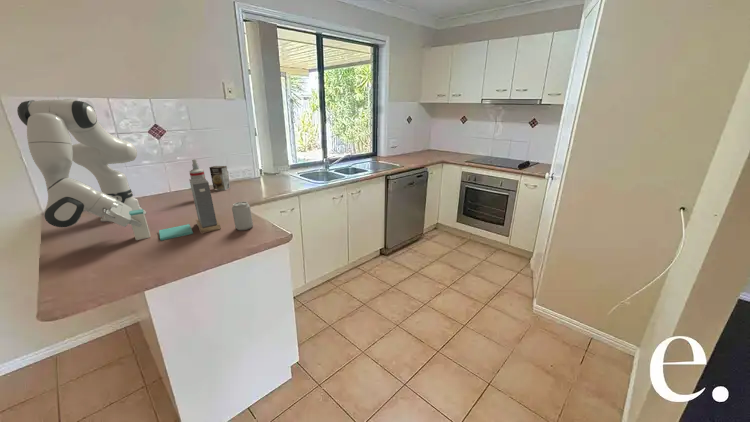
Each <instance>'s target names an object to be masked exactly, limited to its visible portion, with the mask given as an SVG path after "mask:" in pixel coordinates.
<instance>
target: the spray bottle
mask: <svg viewBox="0 0 750 422" xmlns="http://www.w3.org/2000/svg"><path fill="white" fill-rule="evenodd" d="M191 161H192V169H190V170H189V171H188V172H189V176H190V179H196V178H205V179H206V175H205V170H204V169H203V168H200V167H199V166H200V165H199V164H198V161H197V159H195V158H192V159H191Z"/></svg>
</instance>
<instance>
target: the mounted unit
mask: <svg viewBox="0 0 750 422" xmlns="http://www.w3.org/2000/svg"><path fill="white" fill-rule="evenodd" d="M189 184H190V189H191V193H192V198H193V203H194V206H195V210H196V216H197V219H195V221H196V225H197V227H198V229H199V232H200V234H205V233H209V232H213V231H217V230H221V228H222V227H221V224H220V222H219V221H218V220H217V216H216V213H215V208H214V204H213V203H214V202H213V199H212V198H213V197H212V194H211V189H210V183H209V181H208V180H207V179H206V177H205V178H196V179H191V178H189Z"/></svg>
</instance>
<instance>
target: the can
mask: <svg viewBox="0 0 750 422" xmlns="http://www.w3.org/2000/svg"><path fill="white" fill-rule="evenodd" d="M231 210H232V217H233V222H234V226H235V229H237V230H238V231H247V230H249V229H250V230H251V229H252V227H253V226H254V222H253V216H252V211H251V206H250V204H249V202H247V201H238V202H237V201H236V202H235V203H233V204H232V207H231Z"/></svg>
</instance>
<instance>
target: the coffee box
mask: <svg viewBox="0 0 750 422" xmlns="http://www.w3.org/2000/svg"><path fill="white" fill-rule="evenodd" d="M209 172H210V177H211V178H210V179H211V182H212V188H213V190H214V189H218V190H217V191H227V190H226V189H228V190H229V188H230V189H231V185H230V184H231V183H230V179H229V172H228V167H227V165H213V166H210V167H209Z"/></svg>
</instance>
